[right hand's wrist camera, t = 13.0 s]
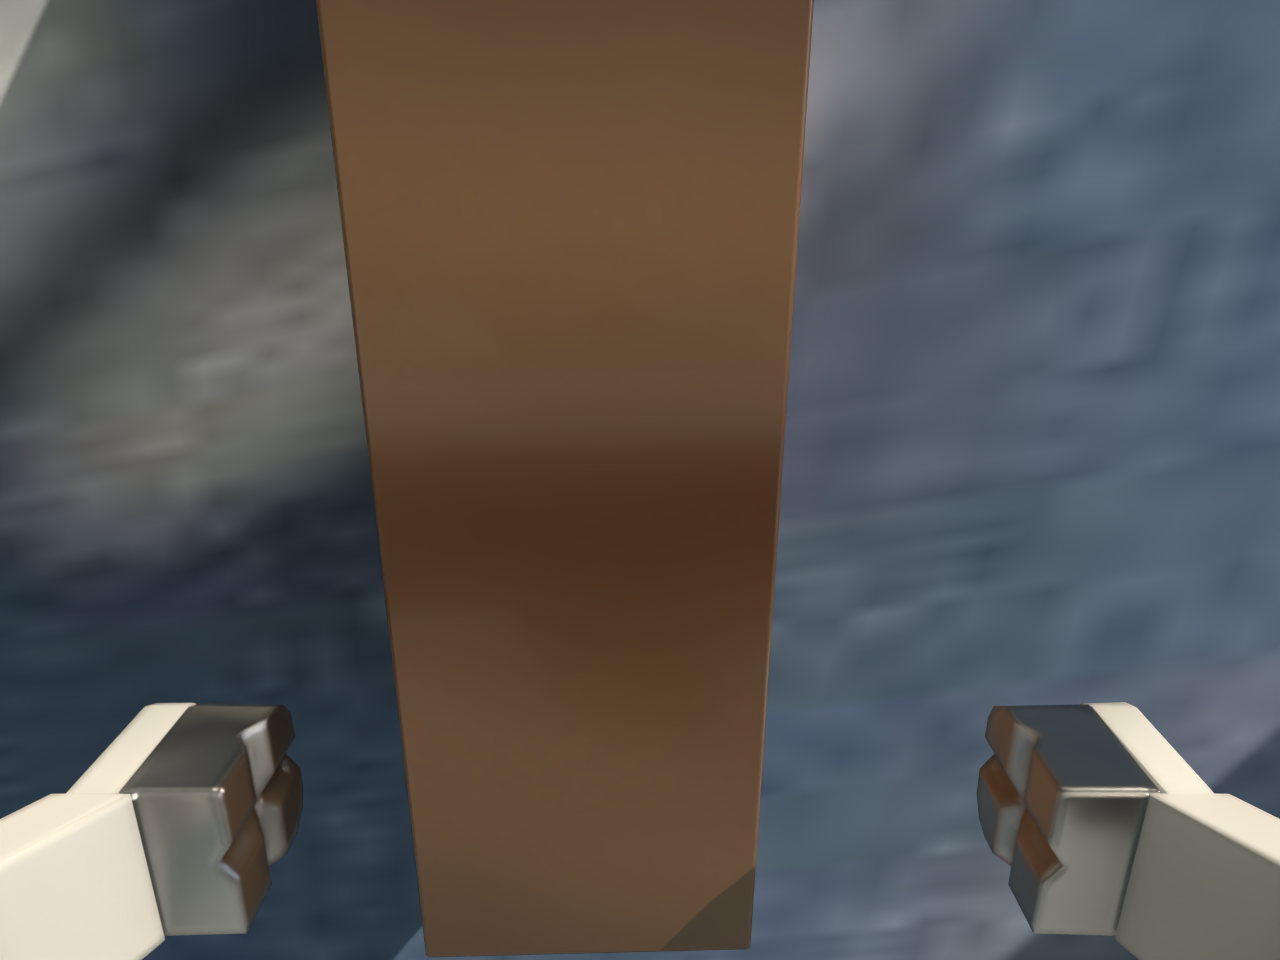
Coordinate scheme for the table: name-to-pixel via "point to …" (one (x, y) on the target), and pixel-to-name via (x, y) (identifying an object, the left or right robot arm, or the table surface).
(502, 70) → the bar
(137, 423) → the table surface
